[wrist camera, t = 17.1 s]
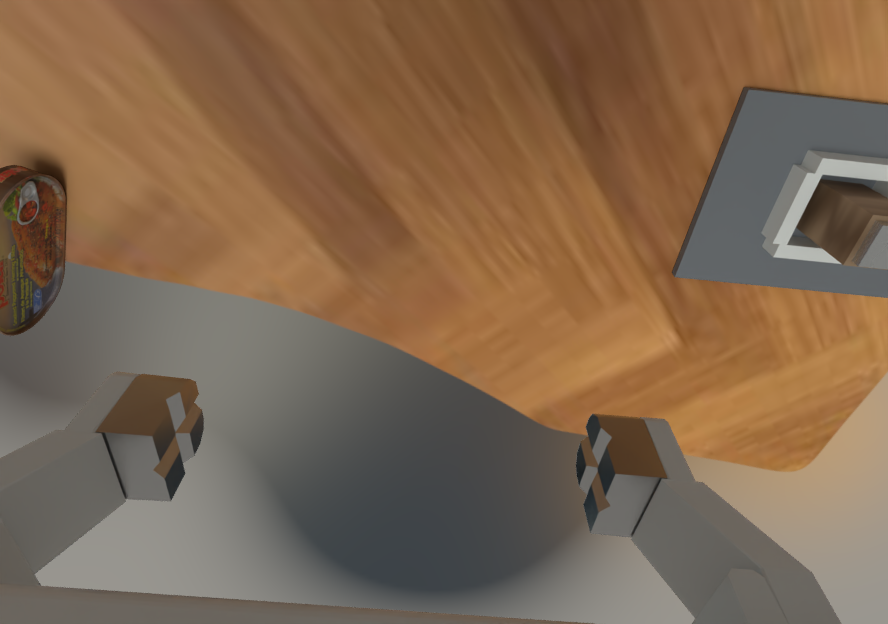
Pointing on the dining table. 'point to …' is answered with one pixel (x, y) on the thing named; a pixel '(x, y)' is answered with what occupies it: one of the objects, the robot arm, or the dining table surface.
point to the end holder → (785, 192)
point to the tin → (29, 246)
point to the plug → (848, 223)
